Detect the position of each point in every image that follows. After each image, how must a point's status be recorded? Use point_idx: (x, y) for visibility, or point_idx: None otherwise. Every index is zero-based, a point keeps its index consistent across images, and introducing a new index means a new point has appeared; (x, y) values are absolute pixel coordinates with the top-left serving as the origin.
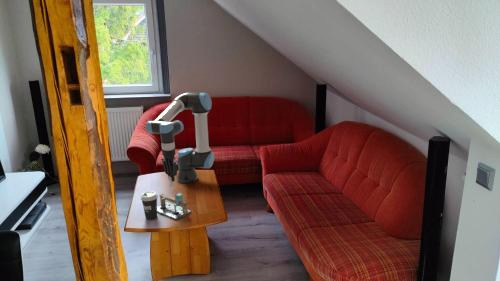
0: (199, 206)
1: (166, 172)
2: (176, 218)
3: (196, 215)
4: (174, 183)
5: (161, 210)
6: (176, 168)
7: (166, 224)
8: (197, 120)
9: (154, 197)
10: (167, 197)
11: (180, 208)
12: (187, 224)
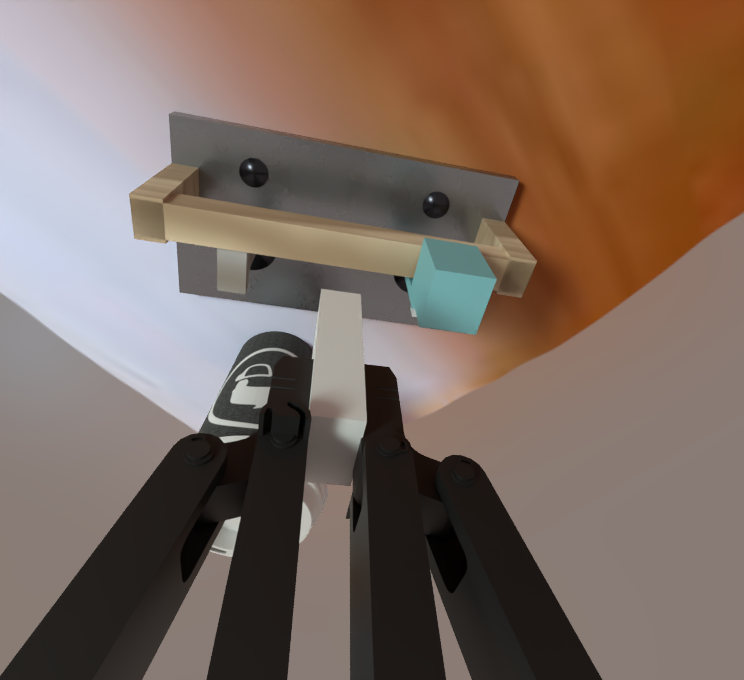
0: (541, 17)
1: (213, 541)
2: None
3: (582, 203)
4: (360, 316)
5: (274, 283)
6: None
7: (432, 383)
8: None
9: (320, 506)
10: (261, 248)
11: (399, 184)
12: (565, 333)
